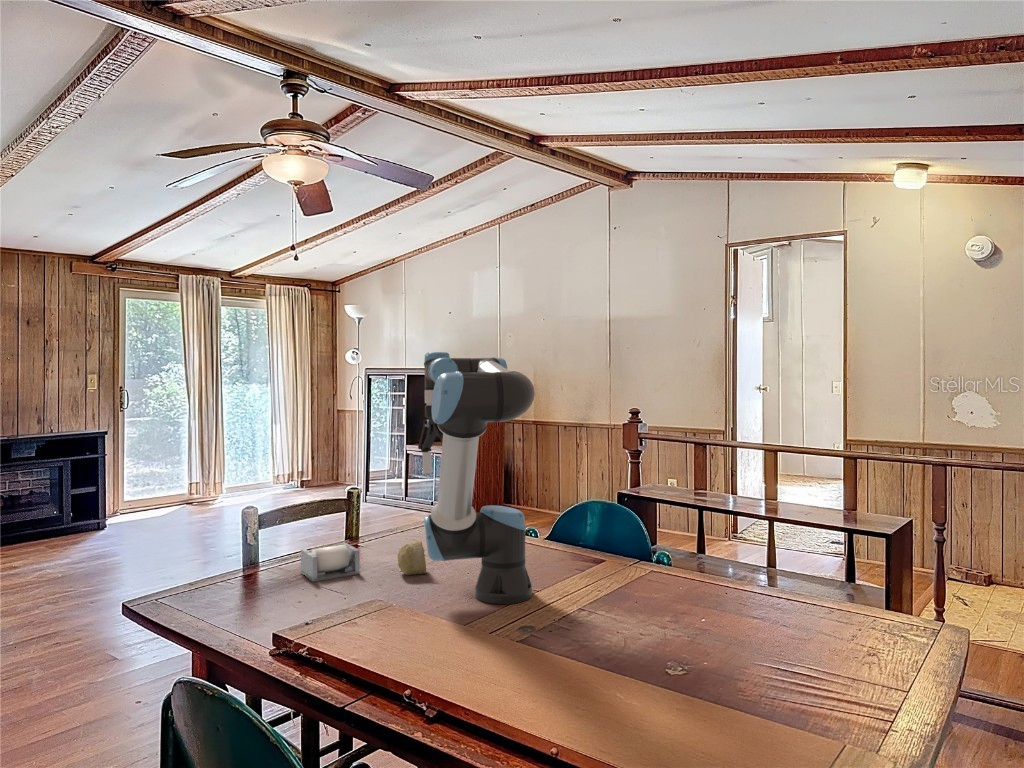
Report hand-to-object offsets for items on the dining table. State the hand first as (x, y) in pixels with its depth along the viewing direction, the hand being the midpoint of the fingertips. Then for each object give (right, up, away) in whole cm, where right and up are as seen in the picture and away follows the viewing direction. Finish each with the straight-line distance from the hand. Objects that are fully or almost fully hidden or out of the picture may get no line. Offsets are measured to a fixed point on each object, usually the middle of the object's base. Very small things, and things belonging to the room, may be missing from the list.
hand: (438, 476), depth 210 cm
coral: (-7, -29, -2) cm, 30 cm away
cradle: (-32, -28, -2) cm, 43 cm away
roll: (-32, -24, -2) cm, 40 cm away
